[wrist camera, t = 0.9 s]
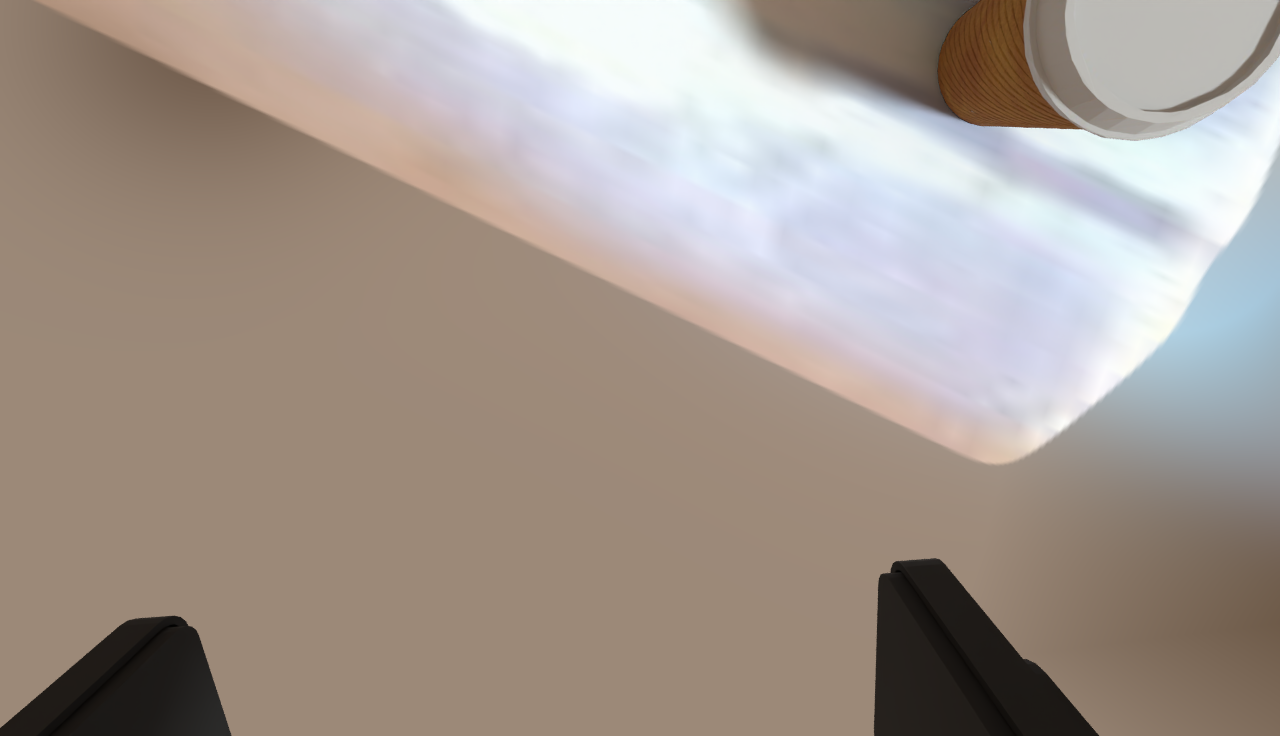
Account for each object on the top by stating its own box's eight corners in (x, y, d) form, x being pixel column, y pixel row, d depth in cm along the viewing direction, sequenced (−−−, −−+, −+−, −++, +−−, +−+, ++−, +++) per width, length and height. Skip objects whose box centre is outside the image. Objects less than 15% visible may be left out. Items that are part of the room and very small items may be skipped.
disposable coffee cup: (1036, 180, 35) (1234, 170, 24) (878, 126, 34) (1005, 88, 23) (1118, -2, 33) (1383, -111, 21) (951, -65, 32) (1133, -214, 20)
